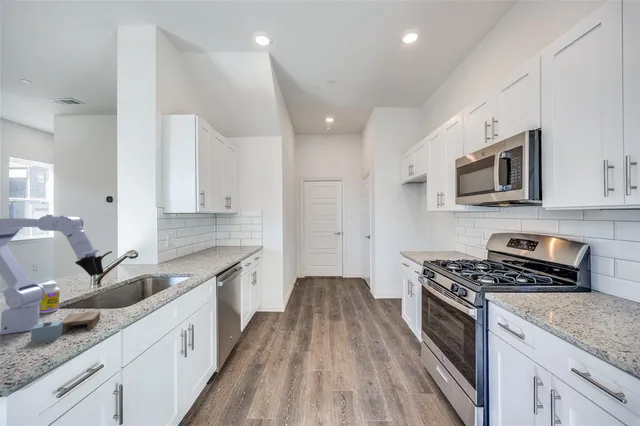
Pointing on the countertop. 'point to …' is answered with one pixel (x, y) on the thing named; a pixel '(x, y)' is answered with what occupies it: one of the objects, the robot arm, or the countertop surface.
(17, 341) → the countertop surface
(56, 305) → the supplement bottle
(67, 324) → the stand
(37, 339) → the housing
